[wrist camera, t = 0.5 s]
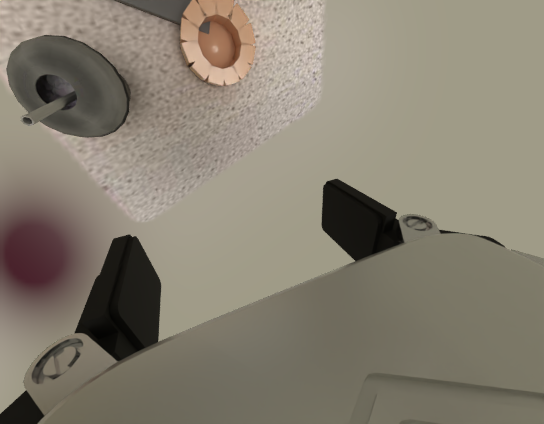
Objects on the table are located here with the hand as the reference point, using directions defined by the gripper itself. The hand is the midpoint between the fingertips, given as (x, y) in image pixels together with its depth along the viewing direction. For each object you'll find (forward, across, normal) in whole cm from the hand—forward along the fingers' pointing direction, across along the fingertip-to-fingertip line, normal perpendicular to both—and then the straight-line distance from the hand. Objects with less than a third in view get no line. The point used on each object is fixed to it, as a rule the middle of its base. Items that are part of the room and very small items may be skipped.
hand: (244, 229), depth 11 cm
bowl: (+28, -5, -10) cm, 30 cm away
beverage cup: (+28, +9, -7) cm, 30 cm away
